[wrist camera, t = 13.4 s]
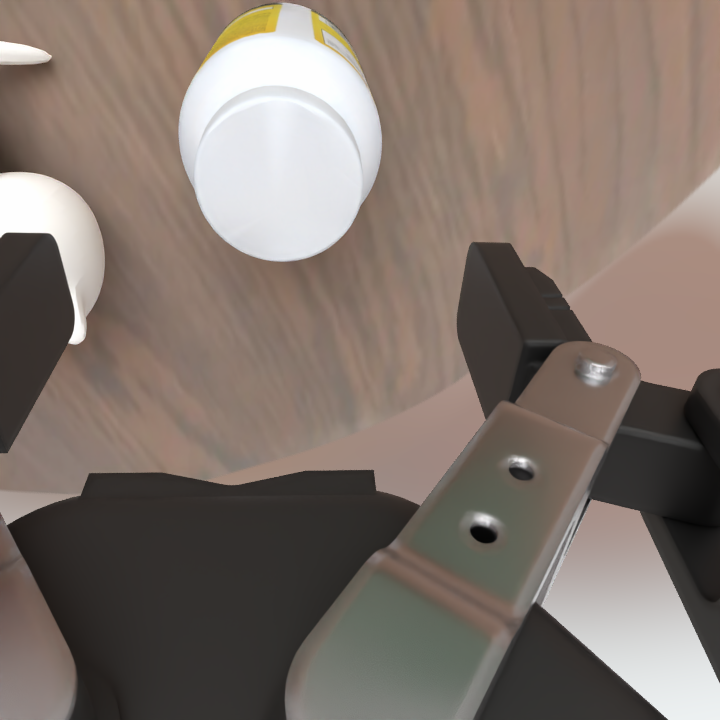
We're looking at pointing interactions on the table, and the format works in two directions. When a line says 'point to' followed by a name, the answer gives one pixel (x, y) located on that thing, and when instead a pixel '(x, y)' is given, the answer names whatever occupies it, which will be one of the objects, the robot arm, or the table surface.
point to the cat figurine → (54, 215)
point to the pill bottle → (280, 133)
